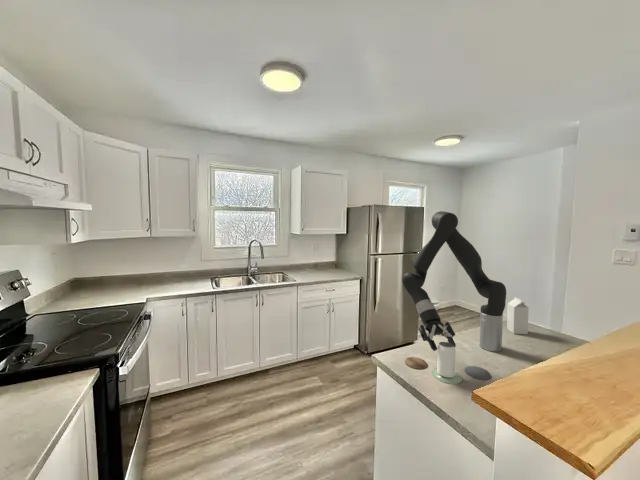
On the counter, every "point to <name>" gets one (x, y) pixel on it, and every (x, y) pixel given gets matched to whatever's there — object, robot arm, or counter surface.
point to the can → (446, 360)
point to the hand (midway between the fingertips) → (444, 348)
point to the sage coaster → (454, 380)
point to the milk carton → (517, 317)
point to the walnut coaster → (415, 363)
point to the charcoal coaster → (477, 372)
